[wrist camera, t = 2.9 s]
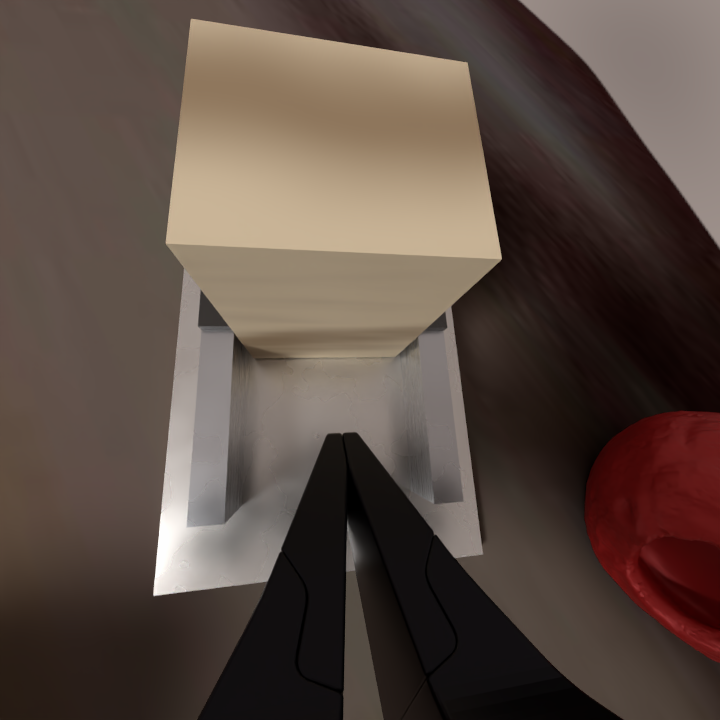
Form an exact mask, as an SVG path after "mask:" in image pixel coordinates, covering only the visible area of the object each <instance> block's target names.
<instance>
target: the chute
mask: <svg viewBox="0 0 720 720" xmlns="http://www.w3.org/2000/svg"><path fill="white" fill-rule="evenodd" d="M345 432H357V433H358V434H359V435H360V437H361V438H362V439H363V441H364V442H365V443H366V444H367V446H368V447H369V448H370V450H371V451H372V452H373V453H374V455H375V456H376V457H377V459H378V460H379V461H380V463H381V464H382V465H383V466H384V468H385V469H386V470H387V472H388V473H389V474H390V475H391V477H392V478H393V479H394V481H395V482H396V483H397V485H398V486H399V487H400V488H401V490H402V491H403V492H404V494H405V495H406V496H407V497H408V499H409V500H410V501H411V503H412V504H413V505H414V507H415V508H416V509H417V510H418V512H419V513H420V514H421V516H422V517H423V518H424V519H425V521H426V522H427V523H428V525H429V526H430V527H431V529H432V530H433V531H434V535H437V536H438V537H439V539H440V540H441V541H442V543H443V544H444V545H445V547H446V548H447V549H448V550H449V552H450V553H451V554H452V555H453V557H454V558H458V557H466V556H474V555H482V554H483V551H482V543H481V535H480V528H479V520H478V512H477V504H476V496H475V488H474V481H473V473H472V465H471V457H470V449H469V442H468V434H467V426H466V418H465V410H464V403H463V395H462V387H461V379H460V371H459V363H458V356H457V348H456V340H455V332H454V324H453V317H452V309H451V307H449V308H448V309H447V310H446V311H445V312H444V313H443V314H442V315H441V316H440V317H439V318H437V319H436V320H435V321H434V322H433V323H432V324H431V325H430V326H429V327H428V328H427V329H425V330H424V331H423V332H422V333H421V334H420V335H419V336H418V337H417V338H416V339H415V340H413V341H412V342H411V343H410V344H409V345H408V346H407V347H406V348H405V349H404V350H403V351H401V352H400V353H399V354H398V355H397V356H396V357H323V358H253V357H252V356H251V354H250V353H249V352H248V350H247V349H246V348H245V346H244V345H243V344H242V343H241V341H240V340H239V339H238V337H237V336H236V335H235V333H234V332H233V331H232V329H231V328H230V327H229V326H228V324H227V323H226V322H225V320H224V319H223V318H222V316H221V315H220V314H219V313H218V311H217V310H216V309H215V307H214V306H213V305H212V303H211V302H210V301H209V299H208V298H207V297H206V296H205V294H204V293H203V292H202V290H201V289H200V288H199V286H198V285H197V284H196V283H195V281H194V280H193V279H192V277H191V276H190V275H189V273H188V272H187V271H186V269H185V268H184V277H183V288H182V298H181V309H180V319H179V330H178V340H177V351H176V362H175V372H174V383H173V393H172V404H171V414H170V425H169V435H168V446H167V457H166V467H165V478H164V488H163V499H162V509H161V520H160V530H159V541H158V552H157V562H156V573H155V583H154V594H153V596H156V595H164V594H172V593H180V592H188V591H196V590H204V589H212V588H220V587H228V586H236V585H244V584H251V583H259V582H267V581H268V579H269V576H270V574H271V572H272V569H273V567H274V564H275V562H276V559H277V557H278V554H279V553H280V552H281V547H282V545H283V542H284V540H285V537H286V535H287V532H288V530H289V527H290V525H291V522H292V520H293V517H294V515H295V512H296V510H297V507H298V505H299V502H300V500H301V497H302V495H303V492H304V490H305V487H306V485H307V482H308V480H309V477H310V475H311V472H312V470H313V467H314V465H315V462H316V460H317V457H318V455H319V452H320V450H321V447H322V445H323V442H324V440H325V437H326V435H327V434H328V433H341V434H343V433H345ZM434 535H433V536H434ZM347 571H355V566H354V560H353V555H352V550H351V545H350V539H349V534H348V529H347V552H346V572H347Z"/></svg>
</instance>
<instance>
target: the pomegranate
mask: <svg viewBox="0 0 720 720" xmlns="http://www.w3.org/2000/svg"><path fill="white" fill-rule="evenodd" d="M584 519H585V523H586V528H587V534H588V536H589V538H590V541H591V545H592V548H593V551H594V553H595V555H596V557H597V559H598V561H599V562H600V563H601V565H602V567H603V568H604V569H605V570H606V572H607V573H608V574H609V575H610V576H611V577H612V578H613V579H614V581H615V582H616V583H617V584H618V585H619V586H620V587H621V588H622V590H623V591H624V592H625V593H626V594H627V595H628V596H629V597H630V598H631V599H632V600H633V601H634V602H635V603H636V604H637V605H638V606H639V607H640V608H642V609H643V610H644V611H645V612H646V613H648V614H649V615H650V616H651V617H653V618H654V619H656V620H657V621H658V622H659V623H660V624H661V625H662V626H664V627H665V628H666V629H667V630H669V631H670V632H671V633H673V634H675V635H676V636H677V637H678V638H680V639H681V640H682V641H684V642H685V643H687V644H689V645H690V646H692V647H693V648H694V649H696V650H698V651H699V652H701V653H702V654H704V655H705V656H706V657H708V658H710V659H712V660H714V661H716V662H719V663H720V413H716V412H695V411H677V412H668V413H661V414H656V415H654V416H651V417H646V418H643V419H641V420H639V421H638V422H636V423H635V424H632V425H630V426H628V427H627V428H626V429H624V430H623V431H621V432H620V433H618V434H617V435H616V436H615V437H613V438H612V439H611V440H610V441H609V442H608V443H607V444H606V445H605V446H604V448H603V449H602V451H601V452H600V454H599V455H598V456H597V458H596V460H595V462H594V464H593V466H592V468H591V470H590V474H589V478H588V480H587V483H586V498H585V515H584Z"/></svg>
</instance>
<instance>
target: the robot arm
mask: <svg viewBox="0 0 720 720" xmlns="http://www.w3.org/2000/svg"><path fill="white" fill-rule="evenodd" d="M347 529H348V534H349V539H350V545H351V550H352V555H353V560H354V566H355V571H356V576H357V581H358V587H359V592H360V597H361V602H362V608H363V613H364V618H365V623H366V629H367V634H368V639H369V644H370V650H371V655H372V660H373V665H374V670H375V676H376V681H377V686H378V691H379V697H380V702H381V707H382V712H383V718H384V720H623V719H622V718H620V717H619V716H617V715H616V714H614V713H613V712H611V711H610V710H608V709H607V708H605V707H604V706H602V705H601V704H599V703H598V702H597V701H595V700H594V699H592V698H591V697H589V696H588V695H587V694H585V693H584V692H583V691H582V690H580V689H579V688H578V687H576V686H575V685H574V684H573V683H572V682H571V681H569V680H568V679H567V678H566V677H565V676H564V675H563V674H561V673H560V672H559V671H558V670H557V669H556V668H555V667H554V666H553V665H552V664H551V663H550V662H549V661H548V660H547V659H546V658H545V657H544V656H543V655H542V654H541V653H540V652H539V650H538V649H537V648H536V647H535V646H534V645H533V644H532V643H531V642H530V641H529V640H528V639H527V638H526V637H525V635H524V634H523V633H522V632H521V631H520V630H519V629H518V628H517V627H516V626H515V625H514V624H513V623H512V621H511V620H510V619H509V618H508V617H507V616H506V615H505V614H504V613H503V612H502V611H501V610H500V609H499V608H498V606H497V605H496V604H495V603H494V602H493V601H492V600H491V599H490V598H489V597H488V596H487V595H486V594H485V592H484V591H483V590H482V589H481V588H480V587H479V586H478V585H477V583H476V582H475V581H474V580H473V579H472V578H471V577H470V576H469V575H468V573H467V572H466V571H465V570H464V569H463V568H462V566H461V565H460V564H459V563H458V561H457V560H456V559H455V558H454V557H453V555H452V554H451V553H450V552H449V550H448V549H447V548H446V547H445V545H444V544H443V543H442V541H441V540H440V539H439V537H438V536H437V535H434V531H433V530H432V529H431V527H430V526H429V525H428V523H427V522H426V521H425V519H424V518H423V517H422V516H421V514H420V513H419V512H418V510H417V509H416V508H415V507H414V505H413V504H412V503H411V501H410V500H409V499H408V497H407V496H406V495H405V494H404V492H403V491H402V490H401V488H400V487H399V486H398V485H397V483H396V482H395V481H394V479H393V478H392V477H391V475H390V474H389V473H388V472H387V470H386V469H385V468H384V466H383V465H382V464H381V463H380V461H379V460H378V459H377V457H376V456H375V455H374V453H373V452H372V451H371V450H370V448H369V447H368V446H367V444H366V443H365V442H364V441H363V439H362V438H361V437H360V435H359V434H358V433H357V432H345V433H343V434H341V433H328V434H327V435H326V437H325V440H324V442H323V445H322V447H321V450H320V452H319V455H318V457H317V460H316V462H315V465H314V467H313V470H312V472H311V475H310V477H309V480H308V482H307V485H306V487H305V490H304V492H303V495H302V497H301V500H300V502H299V505H298V507H297V510H296V512H295V515H294V517H293V520H292V522H291V525H290V527H289V530H288V532H287V535H286V537H285V540H284V542H283V545H282V547H281V552H280V553H279V554H278V557H277V559H276V562H275V564H274V567H273V569H272V572H271V574H270V576H269V579H268V581H267V583H266V586H265V588H264V590H263V593H262V595H261V597H260V599H259V601H258V603H257V605H256V607H255V609H254V611H253V614H252V616H251V618H250V620H249V622H248V624H247V626H246V628H245V630H244V632H243V634H242V636H241V637H240V639H239V641H238V643H237V645H236V647H235V649H234V651H233V653H232V655H231V656H230V658H229V660H228V662H227V664H226V666H225V668H224V670H223V672H222V674H221V675H220V677H219V679H218V681H217V683H216V685H215V687H214V689H213V691H212V693H211V695H210V696H209V698H208V700H207V702H206V704H205V706H204V708H203V710H202V712H201V714H200V715H199V717H198V719H197V720H343V690H344V648H345V600H346V552H347ZM433 535H434V536H433Z"/></svg>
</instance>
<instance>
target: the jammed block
mask: <svg viewBox="0 0 720 720" xmlns="http://www.w3.org/2000/svg"><path fill="white" fill-rule="evenodd" d="M166 245H167V246H168V247H169V249H170V250H171V251H172V252H173V254H174V255H175V256H176V258H177V259H178V260H179V262H180V263H181V264H182V266H183V267H184V268H185V269H186V271H187V272H188V273H189V275H190V276H191V277H192V279H193V280H194V281H195V283H196V284H197V285H198V286H199V288H200V289H201V290H202V292H203V293H204V294H205V296H206V297H207V298H208V299H209V301H210V302H211V303H212V305H213V306H214V307H215V309H216V310H217V311H218V313H219V314H220V315H221V316H222V318H223V319H224V320H225V322H226V323H227V324H228V326H229V327H230V328H231V329H232V331H233V332H234V333H235V335H236V336H237V337H238V339H239V340H240V341H241V343H242V344H243V345H244V346H245V348H246V349H247V350H248V352H249V353H250V354H251V356H252V357H253V358H323V357H396V356H397V355H398V354H399V353H400V352H401V351H403V350H404V349H405V348H406V347H407V346H408V345H409V344H410V343H411V342H412V341H413V340H415V339H416V338H417V337H418V336H419V335H420V334H421V333H422V332H423V331H424V330H425V329H427V328H428V327H429V326H430V325H431V324H432V323H433V322H434V321H435V320H436V319H437V318H439V317H440V316H441V315H442V314H443V313H444V312H445V311H446V310H447V309H448V308H449V307H451V306H452V305H453V304H454V303H455V302H456V301H457V300H458V299H459V298H460V297H461V296H463V295H464V294H465V293H466V292H467V291H468V290H469V289H470V288H471V287H472V286H473V285H475V284H476V283H477V282H478V281H479V280H480V279H481V278H482V277H483V276H484V275H485V274H486V273H488V272H489V271H490V270H491V269H492V268H493V267H494V266H495V265H496V264H497V263H498V262H500V261H501V260H502V256H501V251H500V245H499V239H498V234H497V228H496V222H495V217H494V211H493V205H492V200H491V194H490V188H489V183H488V177H487V171H486V166H485V160H484V154H483V149H482V143H481V138H480V132H479V126H478V121H477V115H476V109H475V104H474V98H473V92H472V87H471V81H470V75H469V70H468V64H467V63H466V62H460V61H454V60H447V59H441V58H435V57H428V56H422V55H416V54H410V53H403V52H397V51H391V50H384V49H378V48H372V47H365V46H359V45H353V44H347V43H340V42H334V41H328V40H321V39H315V38H309V37H303V36H296V35H290V34H284V33H277V32H271V31H265V30H259V29H252V28H246V27H240V26H233V25H227V24H221V23H215V22H208V21H202V20H196V19H191V24H190V33H189V42H188V51H187V59H186V68H185V77H184V86H183V95H182V104H181V113H180V121H179V130H178V139H177V148H176V157H175V166H174V175H173V183H172V192H171V201H170V210H169V219H168V228H167V237H166Z"/></svg>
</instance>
